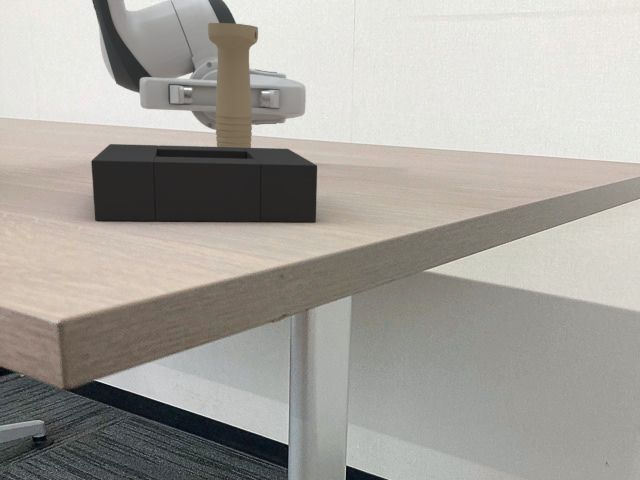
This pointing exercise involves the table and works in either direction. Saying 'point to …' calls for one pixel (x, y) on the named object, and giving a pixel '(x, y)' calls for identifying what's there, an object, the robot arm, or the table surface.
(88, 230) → the table surface
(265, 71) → the robot arm
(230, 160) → the black slotted base
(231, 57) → the handle
